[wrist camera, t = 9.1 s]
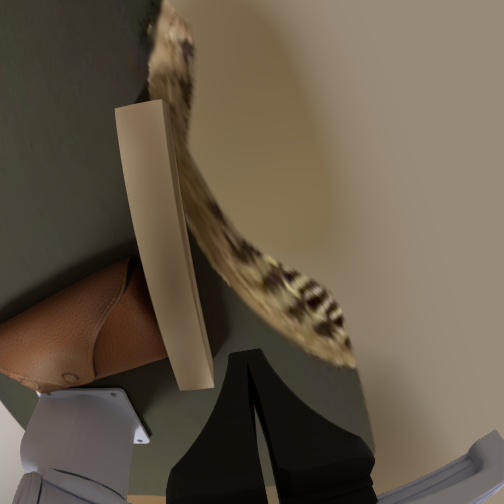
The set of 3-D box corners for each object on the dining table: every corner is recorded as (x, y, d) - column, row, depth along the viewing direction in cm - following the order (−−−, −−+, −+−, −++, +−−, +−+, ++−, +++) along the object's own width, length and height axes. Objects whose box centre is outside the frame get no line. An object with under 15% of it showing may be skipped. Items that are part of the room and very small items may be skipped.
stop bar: (181, 363, 23) (180, 390, 20) (129, 111, 16) (114, 108, 13) (212, 359, 23) (214, 387, 20) (169, 103, 16) (161, 98, 14)
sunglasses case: (39, 398, 23) (-7, 416, 16) (14, 331, 24) (-34, 336, 17) (194, 346, 22) (162, 366, 16) (158, 258, 23) (116, 247, 17)
